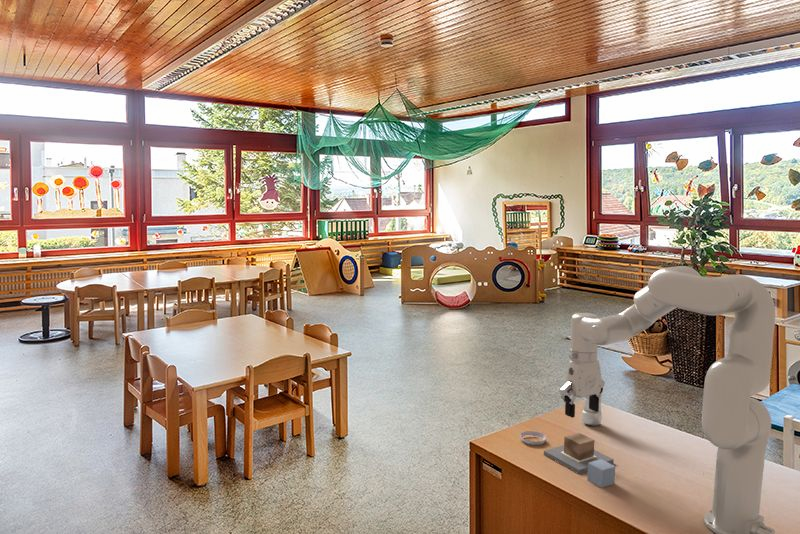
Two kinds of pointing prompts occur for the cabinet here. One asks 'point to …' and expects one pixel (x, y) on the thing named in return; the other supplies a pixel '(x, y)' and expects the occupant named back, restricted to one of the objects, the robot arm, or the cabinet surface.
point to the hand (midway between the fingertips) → (581, 413)
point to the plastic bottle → (591, 413)
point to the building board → (573, 463)
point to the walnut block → (579, 446)
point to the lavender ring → (533, 435)
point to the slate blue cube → (601, 473)
